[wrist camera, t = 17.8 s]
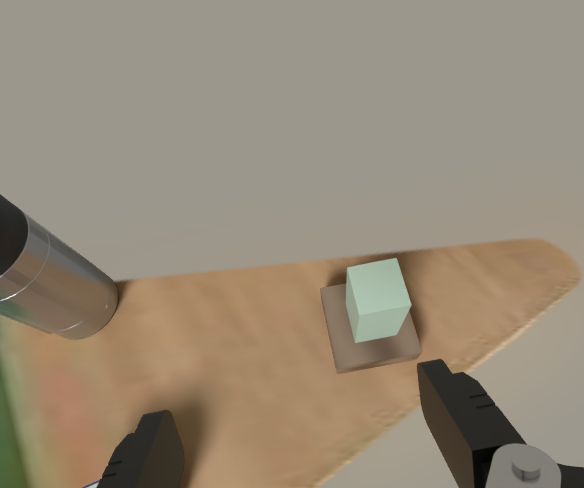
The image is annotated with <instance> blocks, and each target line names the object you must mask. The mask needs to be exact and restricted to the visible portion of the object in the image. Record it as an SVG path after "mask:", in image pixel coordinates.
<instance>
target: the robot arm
mask: <svg viewBox="0 0 584 488" xmlns="http://www.w3.org/2000/svg"><path fill="white" fill-rule="evenodd" d="M117 302H118V290H117V287H116V285H115V283H114V281H113V280H112V279H111V278H110V277H109V276H107V275H106V274H105V273H103V272H102V271H101V270H99V269H98V268H97V267H96V266H94V265H93V264H92V263H90V262H89V261H88V260H86V259H85V258H84V257H83V256H81V255H80V254H78V253H77V252H76V251H75V250H73V249H72V248H71V247H69V246H68V245H67V244H65V243H64V242H62V241H61V240H60V239H59V238H57V237H56V236H55V235H53V234H52V233H51V232H49V231H48V230H47V229H45V228H44V227H43V226H41V225H40V224H39V223H37V222H36V221H35V220H33V219H32V218H31V217H29V216H28V215H27V214H25V213H24V212H23V211H21V210H20V209H19V208H18V207H16V206H15V205H13V204H12V203H11V202H9V201H8V200H7V199H5V198H4V197H3V196H2V195H0V314H1V315H3V316H6V317H8V318H11V319H13V320H16V321H18V322H21V323H23V324H26V325H28V326H31V327H33V328H36V329H38V330H41V331H43V332H46V333H54V334H57V335H59V336H62V337H64V338H68V339H81V338H85V337H88V336H90V335H93V334H94V333H96V332H97V331H99V330H100V329H101V328H102V327H104V326H105V325H106V324H107V322H108V321H109V320H110V319H111V317H112V315H113V314H114V312H115V309H116V306H117ZM417 373H418V382H419V390H420V399H421V406H422V411H423V414H424V417H425V420H426V422H427V425H428V427H429V429H430V431H431V433H432V435H433V437H434V439H435V441H436V443H437V445H438V447H439V449H440V451H441V453H442V455H443V457H444V459H445V461H446V463H447V465H448V467H449V468H450V471H451V473H452V475H453V477H454V479H455V481H456V483H457V485H458V486H459V488H584V468H583V467H573V466H566V465H562V464H557V463H556V462H555V461H554V460H553V459H552V458H551V457H550V456H549V455H547V454H546V453H545V452H543V451H541V450H540V449H538V448H535V447H533V446H530V445H527V444H526V443H525V441H524V440H523V439H522V438H521V436H520V435H519V434H518V432H517V431H516V430H515V428H514V427H513V426H512V425H511V423H510V422H509V421H508V419H507V418H506V417H505V416H504V414H503V413H502V412H501V410H500V409H499V408H498V407H497V406H495V403H494V402H493V400H492V399H491V398H490V396H488V395H487V393H486V391H485V390H484V389H483V387H482V386H481V385H480V383H479V382H478V381H477V380H475V379H473V378H472V377H470V376H469V375H467V374H465V373H464V372H460V373H455V374H452V373H451V371H450V370H449V368H448V367H447V365H446V364H445V363H444V361H443V360H442V359H437V360H432V361H427V362H421V363H418V364H417ZM183 468H184V451H183V446H182V443H181V440H180V438H179V435H178V432H177V429H176V426H175V423H174V420H173V417H172V414H171V412H170V411H169V410H164V411H158V412H153V413H148V414H144V415H143V416H142V418H141V420H140V422H139V425H138V427H137V429H136V431H135V433H132V434H128V435H127V436H126V437H125V438H124V439H123V441H122V442H121V443H120V444H119V445H118V446H117V447H116V448H115V450H114V452H113V454H112V456H111V458H110V461H109V463H108V466H107V467H106V469H105V471H104V473H103V475H102V479H100V481H99V483H98V485H97V487H96V488H179V484H180V480H181V476H182V472H183Z"/></svg>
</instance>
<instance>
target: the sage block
mask: <svg viewBox="0 0 584 488" xmlns="http://www.w3.org/2000/svg"><path fill="white" fill-rule="evenodd" d="M411 305H412V304H411V301H410V298H409V295H408V292H407V289H406V286H405V283H404V280H403V276H402V273H401V270H400V267H399V264H398V261H397V258H393V259H387V260H382V261H377V262H372V263H367V264H362V265H357V266H352V267H347V281H346V307H347V312H348V316H349V320H350V324H351V328H352V332H353V336H354V341H355V343H358V342H363V341H369V340H374V339H379V338H384V337H389V336H394V335H397V333H398V331H399V329H400V327H401V325H402V323H403V321H404V319H405V317H406V315H407V313H408V311H409V309H410V307H411Z"/></svg>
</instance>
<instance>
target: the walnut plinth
mask: <svg viewBox="0 0 584 488" xmlns="http://www.w3.org/2000/svg"><path fill="white" fill-rule="evenodd" d="M320 291H321V299H322V304H323V309H324V314H325V319H326V323H327V328H328V333H329V338H330V342H331V347H332V352H333V357H334V361H335V366H336V371H337V374H342V373H347V372H352V371H357V370H363V369H368V368H373V367H378V366H384V365H389V364H394V363H400V362H405V361H410V360H415V359H417V357H418V356H419V355H420V354H421V353H422V349H421V346H420V343H419V340H418V337H417V333H416V330H415V327H414V324H413V321H412V317H411V314H410V311H408V313H407V315H406V317H405V319H404V321H403V323H402V325H401V327H400V329H399V331H398V333H397V335H394V336H389V337H384V338H379V339H374V340H369V341H363V342H358V343H355V341H354V336H353V332H352V328H351V324H350V320H349V316H348V312H347V307H346V283H345V284H340V285H335V286H329V287H324V288H320Z"/></svg>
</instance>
